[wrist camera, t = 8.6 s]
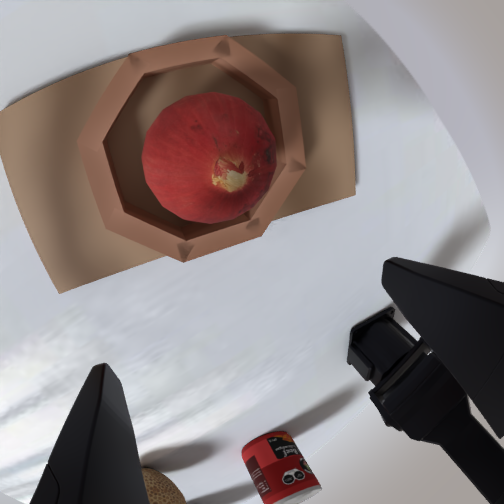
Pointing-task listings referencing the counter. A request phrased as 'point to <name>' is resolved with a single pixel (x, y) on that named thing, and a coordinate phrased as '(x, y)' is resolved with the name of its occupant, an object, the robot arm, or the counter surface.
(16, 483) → the counter surface
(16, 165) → the onion holder
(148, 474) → the natural sponge
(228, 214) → the onion
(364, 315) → the counter surface
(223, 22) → the counter surface
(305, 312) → the counter surface
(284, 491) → the canned food
